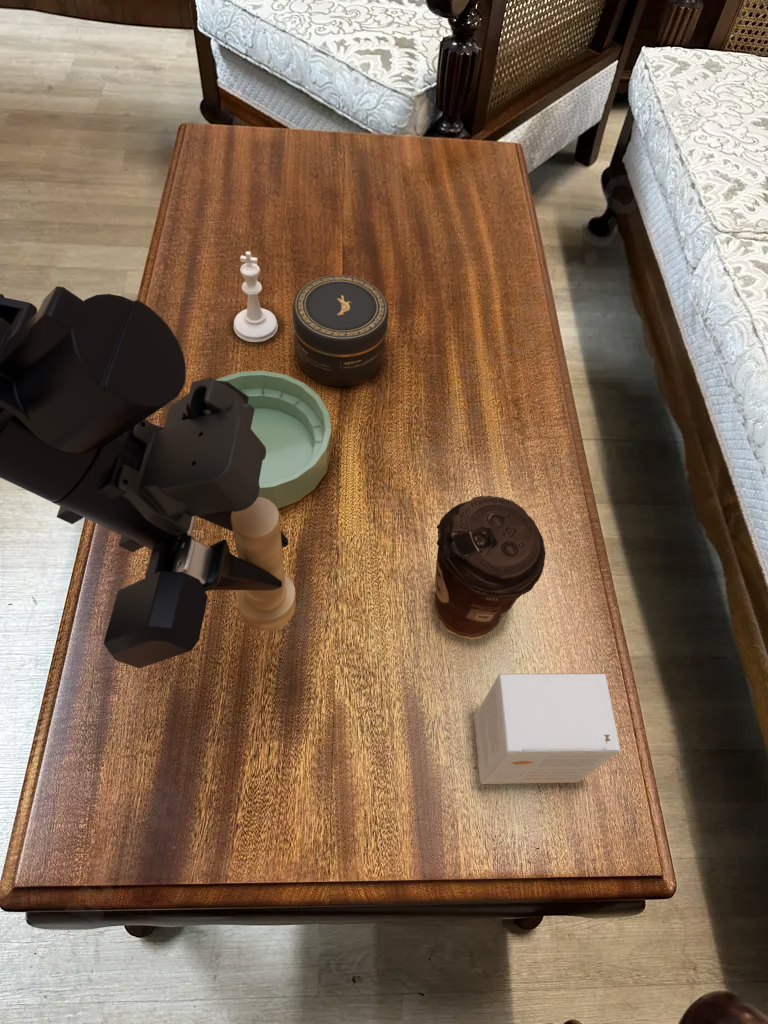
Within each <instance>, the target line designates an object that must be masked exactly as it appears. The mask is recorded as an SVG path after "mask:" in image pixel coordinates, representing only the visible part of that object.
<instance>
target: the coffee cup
mask: <svg viewBox="0 0 768 1024" xmlns="http://www.w3.org/2000/svg"><path fill="white" fill-rule="evenodd" d="M436 529H437V540H436V545H437V546H438V547H437V554H436V564H435V568H436V569H435V578H434V589H435V591H434V594H433V595H434V599H433V600H434V601H433V603H434V604H433V605H434V610H435V614H436V617H437V620H438V621H439V623H440V624H441V625H442V626H443V628H444V630H445V631H446V632H447V633H449V634H451V635H455V636H457V637H459V638H460V639H468V640H478V639H482V638H484V637H486V636H487V635H489V634H490V633H491V632H493V631H494V629H496V628H497V627H498V625H499V624H500V622H501V621H502V620H503V619H504V617H506V615H507V614H508V612H509V611H510V610H511V609H512V608H513V606H514V604H515V603H516V602H517V600H518V599H519V598H521V596H523V595H526V594H527V593H529V592H530V591H531V590H533V588H534V587H535V585H536V584H537V583H538V582H539V580H540V578H541V576H542V574H543V572H544V568H545V561H546V547H545V541H544V538H543V535H542V534H541V531H540V529H539V528H538V526H537V525H536V523H535V521H534V520H533V518H532V517H531V516H530V515H529V514H528V513H527V512H526V510H525V509H524V508H523V507H522V506H520V505H519V504H518V503H516V502H515V501H514V500H511V499H507V498H506V497H502V496H494V495H493V496H492V495H480V496H475V497H472V498H471V500H467V501H465V502H464V501H463V502H461V503H459V504H457V505H455V506H453V507H452V508H450V510H448V511H447V512H446V513H445V514H444V515H443V517H442V518H441V519H440V520H439V524H438V525H437V526H436Z"/></svg>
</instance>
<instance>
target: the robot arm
mask: <svg viewBox="0 0 768 1024" xmlns="http://www.w3.org/2000/svg"><path fill="white" fill-rule="evenodd" d="M185 360H186V359H185V356H184V353H183V350H182V347H181V344H180V342H179V340H178V339H177V337H176V335H175V334H174V332H173V331H172V329H171V327H170V326H169V325H168V324H167V323H166V322H165V320H164V319H163V318H162V317H161V316H160V315H159V314H158V313H157V312H155V310H153V309H152V308H151V307H150V306H148V305H147V304H145V303H144V302H143V301H140V300H138V299H137V300H133V299H129V298H128V297H125V296H123V295H117V294H112V293H102V294H95V295H93V296H90V297H87V298H86V299H84V300H83V299H82V298H80V297H79V296H77V295H76V294H74V293H73V292H71V291H70V290H68V289H67V288H66V287H64V286H59V285H58V286H55V287H54V288H53V289H52V290H51V291H50V292H49V293H48V294H47V295H46V296H45V297H44V298H43V300H42V302H41V304H40V307H39V309H37V306H36V305H34V304H33V303H31V302H28V301H24V300H18V299H13V298H8V297H5V296H4V294H3V293H0V479H2V480H5V481H6V482H8V483H11V484H13V485H15V486H17V487H19V488H21V489H23V490H25V491H28V492H29V493H32V494H34V495H36V496H38V497H40V498H42V499H44V500H46V501H49V502H51V504H54V505H57V506H59V509H58V512H57V514H56V518H57V519H59V520H61V521H63V522H66V523H68V524H70V525H74V524H76V523H77V522H79V521H81V520H82V519H86V520H88V521H90V522H92V523H94V524H96V525H98V526H101V527H102V528H105V529H107V530H109V531H111V532H113V533H115V534H117V535H119V536H121V537H120V540H119V543H118V547H120V548H122V549H125V550H126V551H128V552H131V553H135V552H137V551H139V550H141V549H144V548H147V549H149V550H151V554H150V557H149V561H148V565H147V569H146V573H145V577H144V578H142V579H140V580H137V581H135V582H133V583H131V584H129V585H127V586H124V587H123V588H120V589H118V590H117V593H116V596H115V600H114V604H113V606H112V607H113V608H112V611H111V615H110V618H109V621H108V624H107V629H106V632H105V637H104V639H103V643H102V644H103V645H104V647H105V648H106V649H107V651H108V653H109V654H110V655H111V657H112V658H113V659H114V661H116V662H119V663H122V664H124V665H128V666H130V667H134V668H137V669H142V668H145V667H148V666H151V665H154V664H157V663H161V662H163V661H166V660H169V659H171V658H175V657H178V656H181V655H183V654H187V653H190V652H192V650H193V649H194V648H195V647H196V645H197V644H198V642H199V641H200V637H201V632H202V628H203V624H204V623H203V622H204V618H205V613H206V608H207V603H208V600H209V599H208V598H209V596H208V594H207V592H208V591H237V590H258V591H272V590H276V589H279V588H281V587H282V581H281V580H279V579H278V578H276V577H275V576H274V575H272V574H271V573H269V572H267V571H265V570H263V569H261V568H259V567H257V566H255V565H253V564H250V563H248V562H246V561H244V560H242V559H240V558H238V556H236V555H234V554H233V553H231V550H230V546H229V542H228V540H227V539H225V538H224V539H222V540H219V541H217V542H215V543H213V544H211V545H209V546H208V545H206V544H204V543H202V542H200V541H198V540H197V539H196V538H195V537H193V536H192V533H193V528H194V524H195V519H196V517H197V518H200V519H202V520H204V521H207V522H210V523H211V524H214V525H216V526H218V527H221V528H223V529H225V530H227V531H230V532H232V533H233V529H232V524H231V513H232V511H233V512H236V511H242V510H245V509H247V508H249V507H250V506H251V505H252V504H253V503H254V502H255V501H256V499H257V497H258V494H259V490H260V486H259V478H260V473H261V467H262V461H263V460H264V459H265V456H266V447H265V446H264V444H263V443H262V442H261V441H260V440H259V438H258V437H257V436H256V435H255V433H254V432H253V431H252V430H251V425H252V420H253V415H254V408H253V406H251V405H249V404H248V399H249V397H248V396H247V395H246V394H244V393H243V392H241V391H240V390H239V389H237V388H236V387H234V386H233V385H231V384H230V383H229V382H227V381H219V380H217V379H214V378H213V377H206V378H203V379H199V380H195V381H193V382H192V383H191V384H190V388H189V393H186V395H184V396H183V397H182V398H180V399H178V400H177V401H176V402H174V403H172V404H171V405H170V406H169V408H168V411H167V415H166V417H165V422H164V426H160V425H157V424H154V423H152V422H151V421H148V420H147V419H148V418H149V417H151V416H152V415H154V414H155V413H156V412H158V411H159V410H161V409H162V408H164V407H165V406H167V405H169V404H170V403H171V402H172V401H174V400H175V399H176V398H177V397H179V395H180V394H181V392H182V390H183V388H184V386H185V384H186V383H185V382H186V376H187V375H186V372H187V366H186V361H185ZM281 542H282V549H284V548H285V547H287V546H289V538H288V537H287V536H286V534H284V532H283V531H282V530H281Z"/></svg>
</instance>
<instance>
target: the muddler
mask: <svg viewBox="0 0 768 1024" xmlns="http://www.w3.org/2000/svg"><path fill="white" fill-rule="evenodd" d="M280 520H281V519H280V512H279V509H277V507H276V506H275V504H274V503H272V502H271V501H270V500H268V499H266V498H263V497H257V499H256V501H255V502H254V503H253V504H252V505H251V506H250V507H249V508H247V509H245V510H242V511H236V512H233V511H232V513H231V524H232V529H233V532H232V535H233V539H234V544H235V549H236V554H237V557H238V558H240V559H242V560H244V561H246V562H248V563H250V564H253V565H255V566H257V567H259V568H261V569H263V570H265V571H267V572H269V573H271V574H272V575H274V576H275V577H276V578H278V579H279V580H281V581H282V587H281V588H279V589H276V590H272V591H258V590H236V597H235V598H236V603H237V607H238V612H239V614H240V617H241V619H242V621H244V623H245V624H246V625H248V626H249V627H250V628H253V629H255V630H258V631H267V632H268V631H274V630H277V629H279V628H282V627H284V625H286V624H288V622H289V621H291V619H292V618H293V615H294V614H295V612H296V608H297V597H296V587H295V584H294V582H293V580H292V579H291V577H290V576H289V575H287V573H286V572H285V567H284V565H285V564H284V553H283V548H282V542H281V531H282V529H281V521H280Z"/></svg>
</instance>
